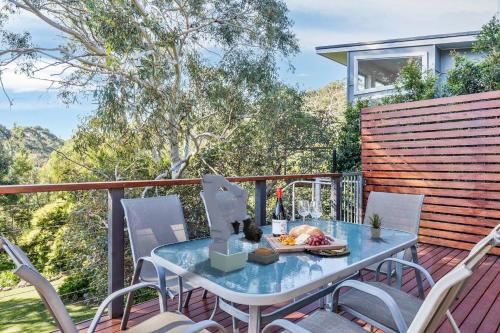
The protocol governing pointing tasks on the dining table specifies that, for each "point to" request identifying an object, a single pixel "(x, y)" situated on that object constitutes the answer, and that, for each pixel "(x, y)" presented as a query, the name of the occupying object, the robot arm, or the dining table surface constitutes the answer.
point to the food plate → (332, 251)
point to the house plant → (375, 226)
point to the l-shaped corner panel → (228, 261)
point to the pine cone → (253, 233)
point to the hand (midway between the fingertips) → (241, 233)
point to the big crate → (263, 257)
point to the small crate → (263, 251)
